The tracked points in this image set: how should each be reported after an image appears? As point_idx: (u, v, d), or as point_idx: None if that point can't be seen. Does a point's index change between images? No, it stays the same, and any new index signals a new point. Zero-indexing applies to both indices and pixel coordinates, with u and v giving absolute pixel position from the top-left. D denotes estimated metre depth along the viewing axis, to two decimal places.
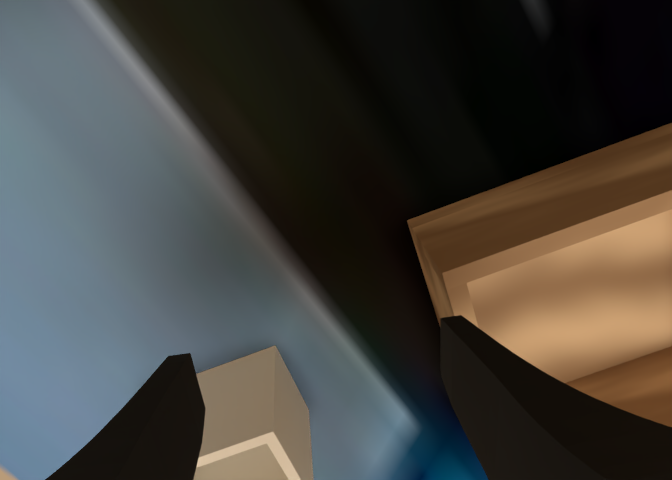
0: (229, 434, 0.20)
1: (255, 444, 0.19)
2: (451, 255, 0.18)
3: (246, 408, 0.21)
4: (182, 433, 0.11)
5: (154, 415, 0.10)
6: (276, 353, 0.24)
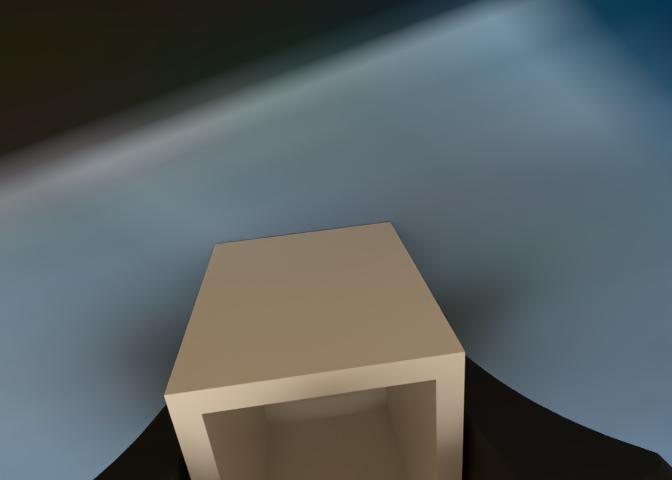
0: None
1: (198, 435, 0.08)
2: None
3: None
4: None
5: None
6: (218, 252, 0.12)
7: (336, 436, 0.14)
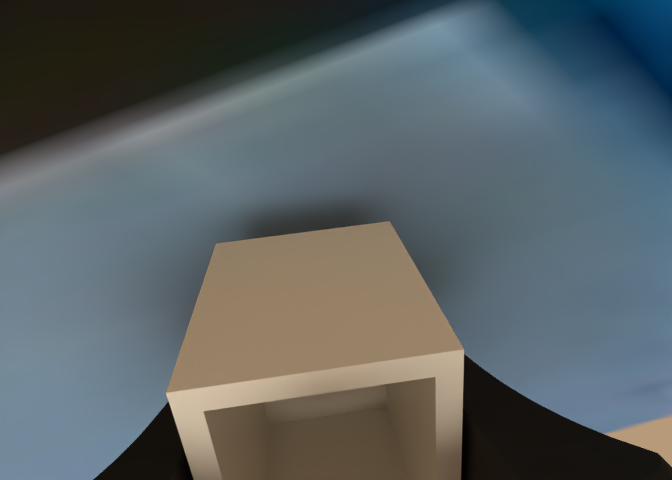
0: None
1: (200, 432, 0.08)
2: None
3: None
4: None
5: None
6: (218, 251, 0.12)
7: (336, 435, 0.15)
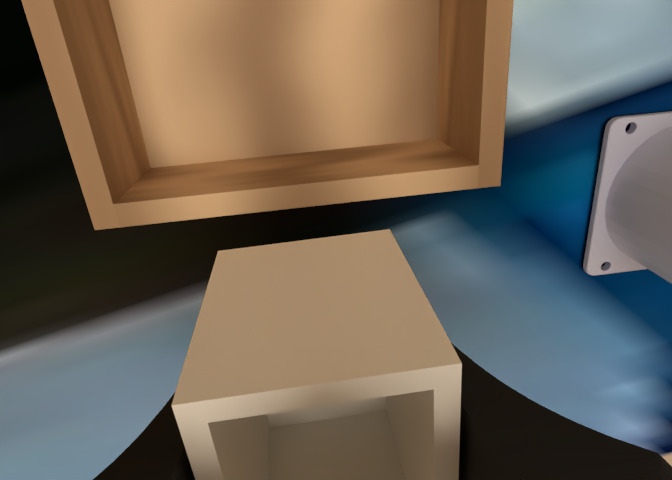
0: None
1: (204, 442, 0.08)
2: None
3: None
4: None
5: None
6: (220, 259, 0.13)
7: (336, 438, 0.15)
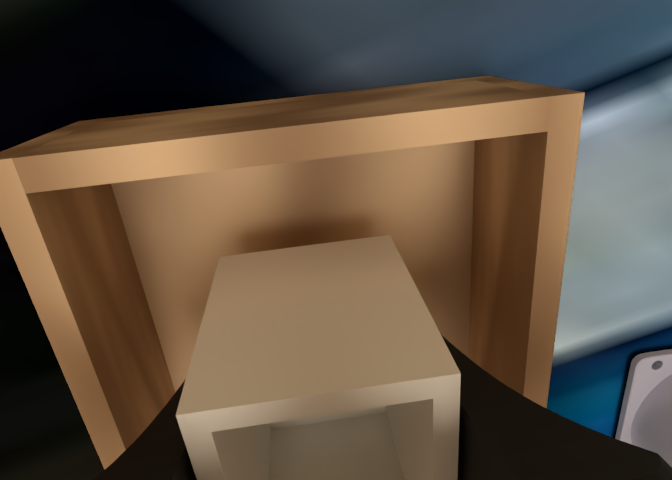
0: None
1: (208, 450, 0.08)
2: None
3: None
4: None
5: None
6: (222, 265, 0.13)
7: (336, 440, 0.15)
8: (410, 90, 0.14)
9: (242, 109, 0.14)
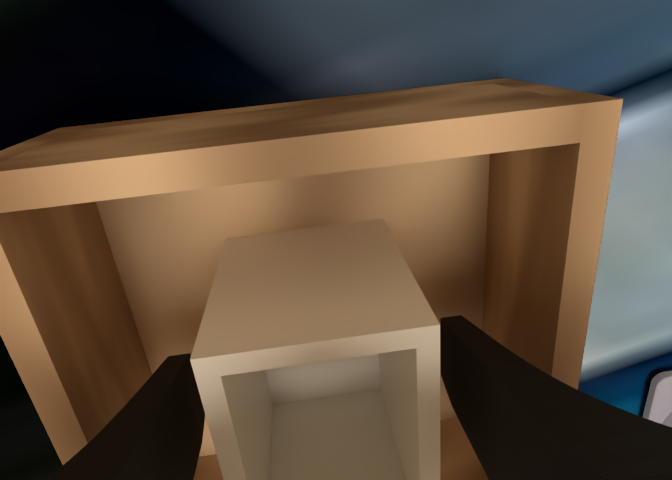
0: None
1: (218, 394, 0.09)
2: None
3: None
4: (182, 433, 0.11)
5: (154, 415, 0.10)
6: (228, 245, 0.14)
7: (334, 413, 0.16)
8: (421, 94, 0.13)
9: (236, 116, 0.12)
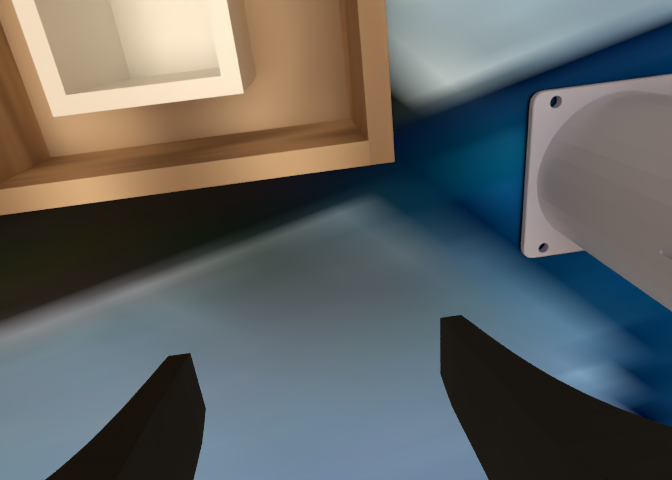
0: None
1: None
2: None
3: None
4: (182, 433, 0.11)
5: (154, 415, 0.10)
6: None
7: (185, 72, 0.16)
8: None
9: None
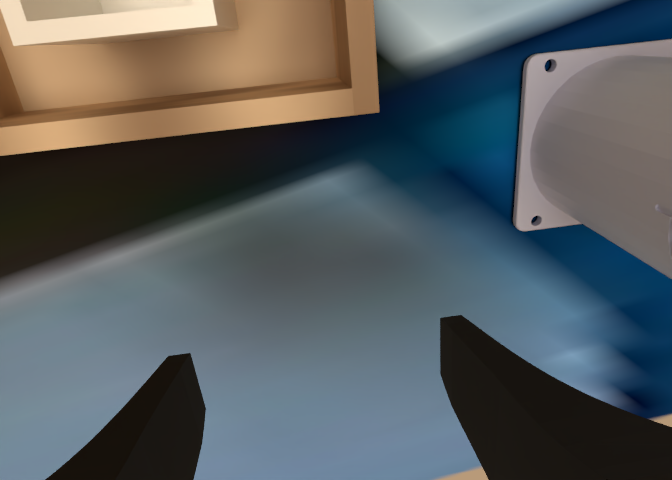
0: None
1: None
2: None
3: None
4: (182, 433, 0.11)
5: (154, 415, 0.10)
6: None
7: None
8: None
9: None
